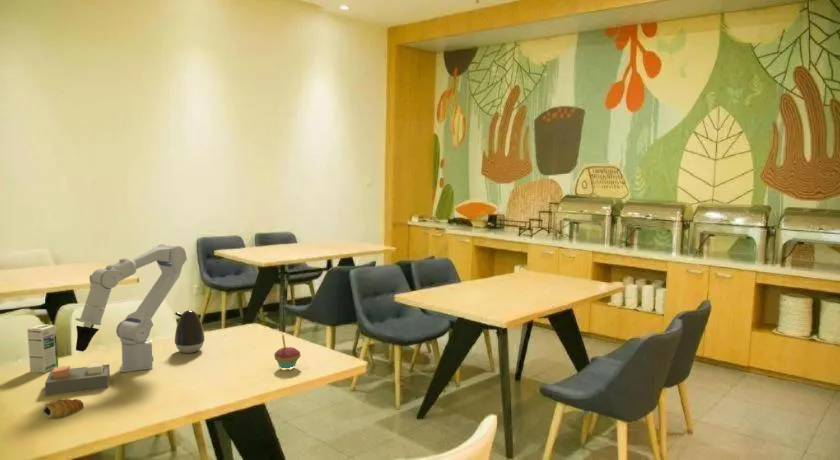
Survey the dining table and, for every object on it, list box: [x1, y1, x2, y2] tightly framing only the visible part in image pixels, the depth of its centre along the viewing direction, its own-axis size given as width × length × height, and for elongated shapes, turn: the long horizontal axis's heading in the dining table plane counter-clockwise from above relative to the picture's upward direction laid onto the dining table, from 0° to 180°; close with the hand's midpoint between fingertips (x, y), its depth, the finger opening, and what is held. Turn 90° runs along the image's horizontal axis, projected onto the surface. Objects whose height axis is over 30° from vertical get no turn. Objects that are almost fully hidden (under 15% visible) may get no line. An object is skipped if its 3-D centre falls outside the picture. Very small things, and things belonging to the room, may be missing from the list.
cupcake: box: [273, 332, 301, 368], centre depth 198 cm, size 9×8×12 cm
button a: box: [86, 361, 104, 374], centre depth 181 cm, size 4×4×4 cm
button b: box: [52, 365, 71, 378], centre depth 177 cm, size 4×4×4 cm
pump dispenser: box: [174, 309, 205, 354], centre depth 214 cm, size 10×10×15 cm
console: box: [44, 364, 111, 397], centre depth 179 cm, size 16×11×4 cm
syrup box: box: [26, 323, 59, 374], centre depth 193 cm, size 6×6×14 cm
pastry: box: [42, 398, 84, 420], centre depth 160 cm, size 9×7×4 cm
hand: (80, 350), depth 180 cm, fingers open, 7 cm apart
